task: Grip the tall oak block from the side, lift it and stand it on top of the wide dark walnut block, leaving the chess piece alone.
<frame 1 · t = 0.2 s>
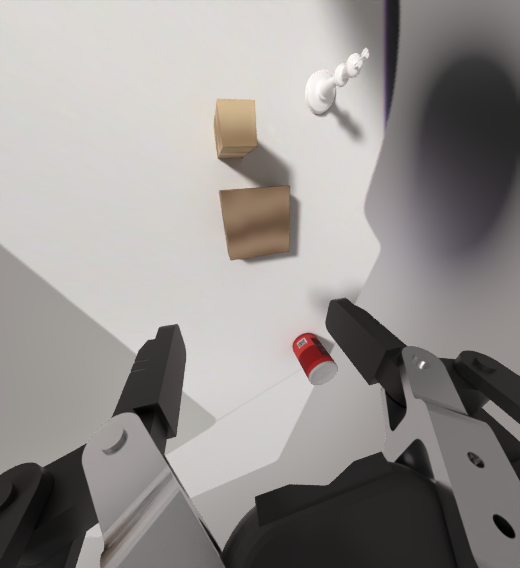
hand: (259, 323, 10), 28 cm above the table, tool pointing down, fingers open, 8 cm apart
chess piece: (318, 94, 29), on the table
walnut block: (252, 220, 36), on the table
canned food: (303, 342, 55), on the table
oak block: (228, 142, 29), on the table
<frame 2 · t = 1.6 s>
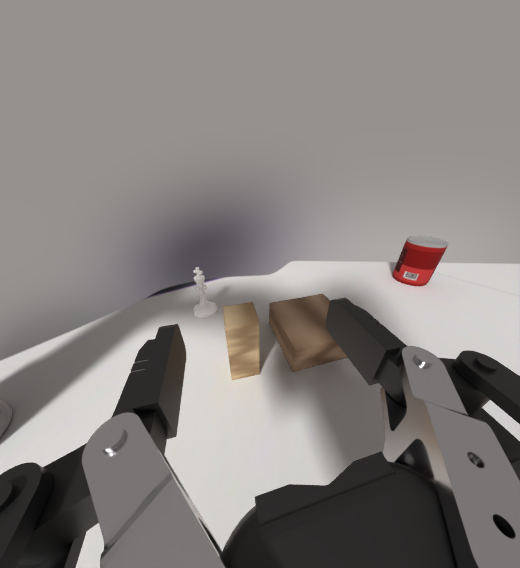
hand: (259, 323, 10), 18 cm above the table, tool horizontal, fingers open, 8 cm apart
chess piece: (205, 310, 40), on the table
walnut block: (307, 338, 33), on the table
canned food: (408, 280, 51), on the table
oak block: (243, 365, 28), on the table
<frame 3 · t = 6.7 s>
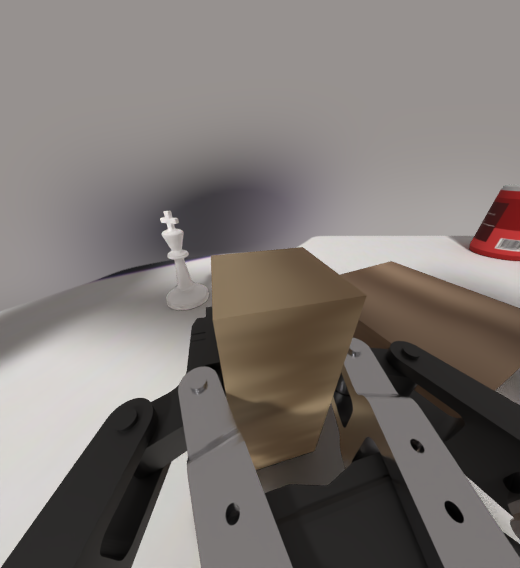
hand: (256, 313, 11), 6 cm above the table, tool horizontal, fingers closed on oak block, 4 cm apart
chess piece: (189, 299, 23), on the table
walnut block: (391, 347, 16), on the table
canned food: (496, 254, 34), on the table
oak block: (268, 419, 11), on the table, touching gripper
when the fingers open (11 cm above the table, at t = 12.4 s): oak block stays where it is, resting on walnut block.
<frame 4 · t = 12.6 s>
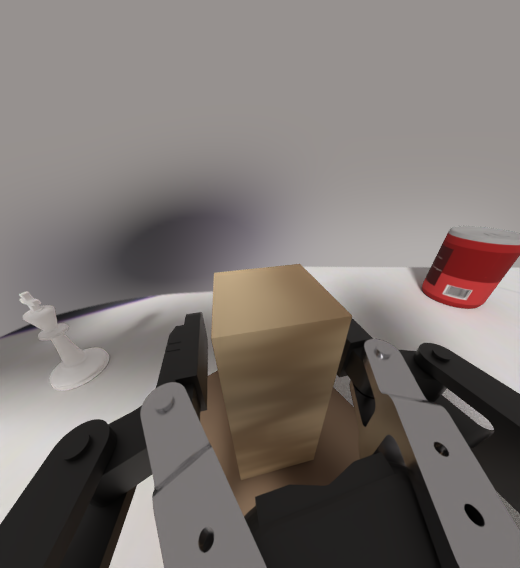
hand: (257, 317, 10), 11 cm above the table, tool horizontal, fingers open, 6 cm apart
chess piece: (83, 369, 21), on the table
walnut block: (267, 458, 14), on the table, touching oak block
canned food: (448, 297, 32), on the table
oak block: (269, 427, 12), point 5 cm above the table, touching walnut block
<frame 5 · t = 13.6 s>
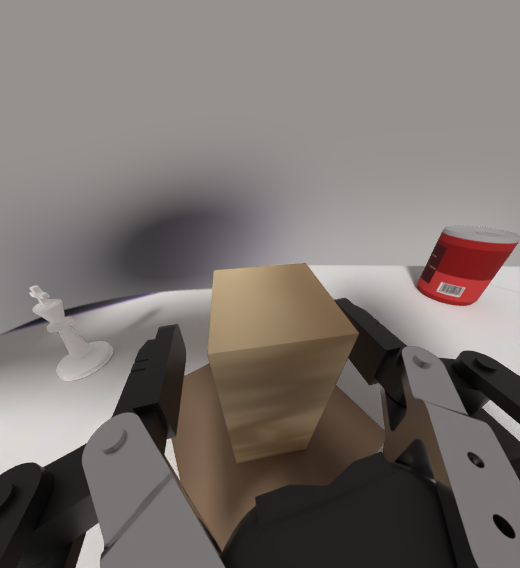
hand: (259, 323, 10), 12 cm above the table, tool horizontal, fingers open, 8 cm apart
chess piece: (88, 361, 22), on the table
walnut block: (263, 441, 15), on the table, touching oak block
canned food: (442, 294, 33), on the table
oak block: (265, 415, 12), point 5 cm above the table, touching walnut block
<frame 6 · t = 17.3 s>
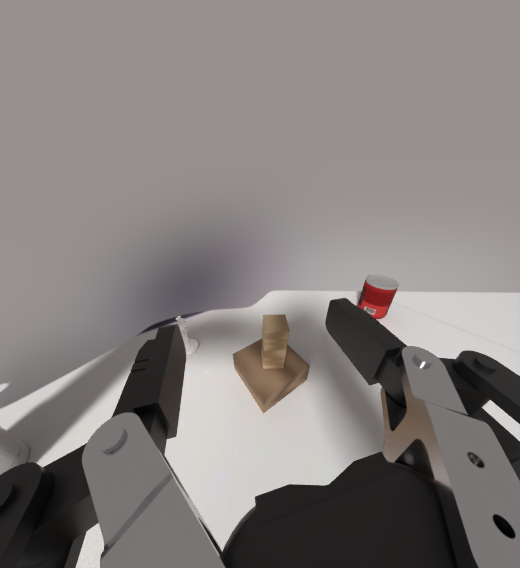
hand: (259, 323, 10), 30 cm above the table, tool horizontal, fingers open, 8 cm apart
chess piece: (188, 348, 46), on the table
walnut block: (269, 374, 40), on the table, touching oak block
canned food: (370, 312, 58), on the table
oak block: (272, 359, 37), point 5 cm above the table, touching walnut block
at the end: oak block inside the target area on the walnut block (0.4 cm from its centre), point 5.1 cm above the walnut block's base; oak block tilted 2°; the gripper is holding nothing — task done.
